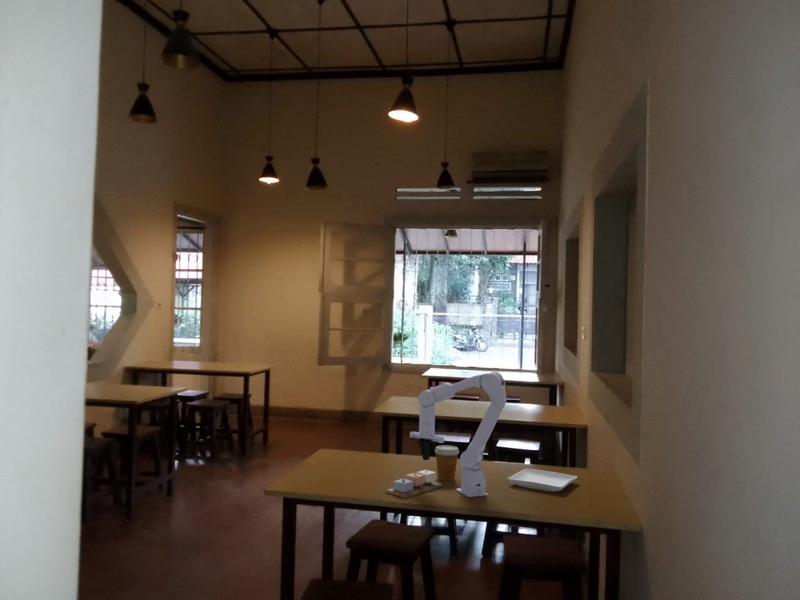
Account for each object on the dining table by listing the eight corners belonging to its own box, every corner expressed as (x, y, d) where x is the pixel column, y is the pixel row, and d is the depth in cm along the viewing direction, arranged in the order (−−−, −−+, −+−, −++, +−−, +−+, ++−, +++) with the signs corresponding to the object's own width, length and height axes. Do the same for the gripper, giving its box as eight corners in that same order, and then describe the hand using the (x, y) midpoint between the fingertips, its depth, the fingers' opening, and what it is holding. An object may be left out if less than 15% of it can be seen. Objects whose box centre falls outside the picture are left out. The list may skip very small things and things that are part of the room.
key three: (402, 486, 226) (402, 478, 227) (413, 489, 223) (413, 480, 223) (393, 489, 223) (393, 480, 223) (404, 492, 219) (404, 483, 220)
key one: (425, 477, 236) (425, 469, 236) (435, 480, 233) (436, 471, 233) (416, 480, 233) (417, 471, 233) (427, 482, 229) (427, 474, 229)
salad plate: (525, 475, 255) (525, 467, 255) (578, 484, 244) (578, 475, 244) (506, 487, 236) (506, 477, 236) (562, 496, 225) (562, 487, 226)
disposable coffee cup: (449, 483, 238) (450, 451, 238) (429, 478, 244) (429, 447, 244) (463, 478, 246) (463, 447, 246) (442, 474, 251) (443, 444, 252)
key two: (414, 480, 231) (414, 472, 232) (424, 483, 228) (425, 474, 228) (405, 483, 228) (405, 474, 228) (416, 486, 224) (416, 477, 224)
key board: (423, 482, 239) (423, 473, 239) (442, 486, 233) (442, 478, 233) (386, 492, 223) (386, 483, 223) (405, 498, 217) (405, 488, 217)
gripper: (405, 421, 235) (404, 458, 234) (436, 426, 225) (435, 464, 225) (417, 419, 240) (416, 455, 240) (447, 424, 231) (446, 461, 230)
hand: (426, 459), depth 233 cm, fingers closed
